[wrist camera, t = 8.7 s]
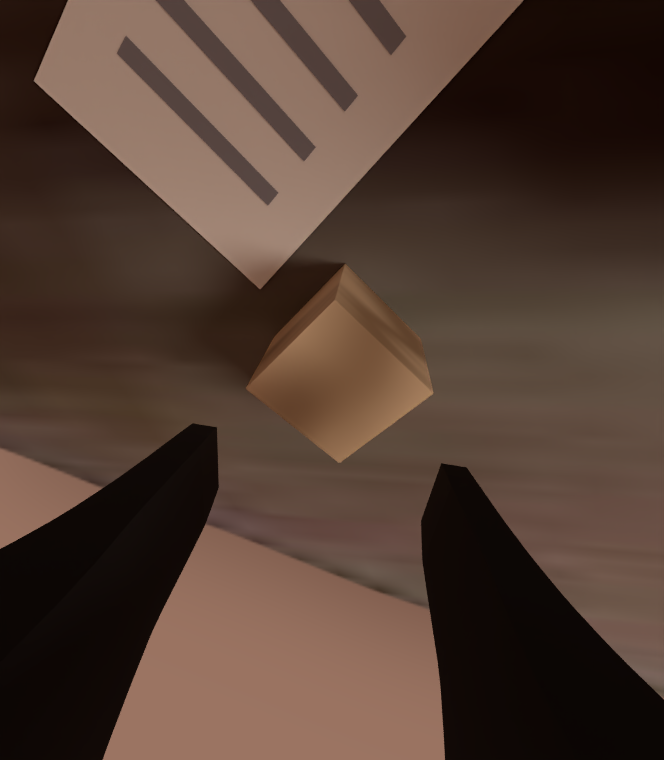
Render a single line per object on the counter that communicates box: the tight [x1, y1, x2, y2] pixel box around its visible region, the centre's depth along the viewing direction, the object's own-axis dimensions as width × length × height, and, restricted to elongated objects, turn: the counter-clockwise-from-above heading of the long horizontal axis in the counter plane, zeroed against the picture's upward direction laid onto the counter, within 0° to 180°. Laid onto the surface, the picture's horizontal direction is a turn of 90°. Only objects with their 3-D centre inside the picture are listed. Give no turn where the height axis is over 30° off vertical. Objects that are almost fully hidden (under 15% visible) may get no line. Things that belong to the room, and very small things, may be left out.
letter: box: [34, 0, 523, 289], centre depth 12 cm, size 10×14×1 cm
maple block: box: [246, 264, 434, 463], centre depth 15 cm, size 4×4×4 cm
